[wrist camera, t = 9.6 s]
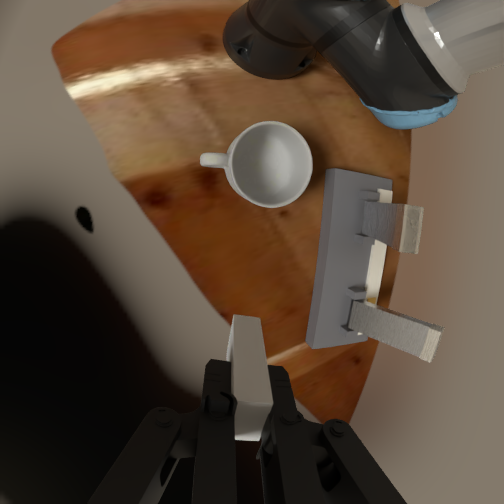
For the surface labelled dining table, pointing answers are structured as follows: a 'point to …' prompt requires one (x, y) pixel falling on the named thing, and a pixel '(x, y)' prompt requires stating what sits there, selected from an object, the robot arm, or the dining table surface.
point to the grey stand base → (345, 256)
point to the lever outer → (395, 329)
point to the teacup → (266, 164)
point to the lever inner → (394, 225)
